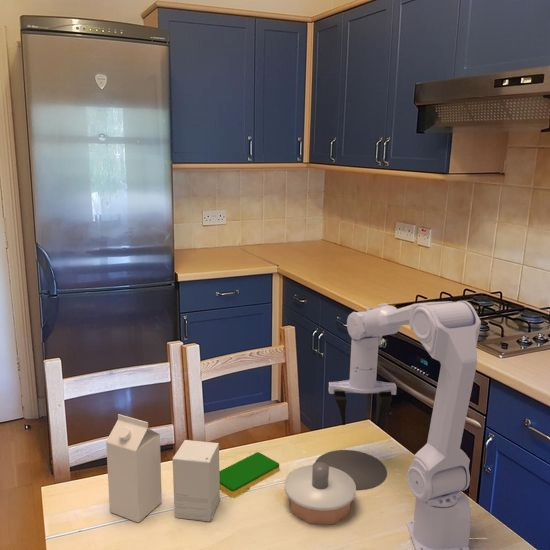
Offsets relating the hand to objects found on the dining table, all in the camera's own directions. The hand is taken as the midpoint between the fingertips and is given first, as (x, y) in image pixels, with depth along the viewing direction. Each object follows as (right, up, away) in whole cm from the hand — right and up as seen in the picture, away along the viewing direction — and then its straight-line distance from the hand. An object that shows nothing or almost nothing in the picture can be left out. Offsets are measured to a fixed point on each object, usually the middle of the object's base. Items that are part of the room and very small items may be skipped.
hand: (360, 423), depth 122 cm
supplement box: (-34, -13, -14) cm, 39 cm away
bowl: (-10, -13, -13) cm, 21 cm away
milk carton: (-46, -13, -14) cm, 50 cm away
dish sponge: (-25, -12, -3) cm, 28 cm away
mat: (-2, -11, 0) cm, 11 cm away
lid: (-10, -9, -13) cm, 19 cm away
